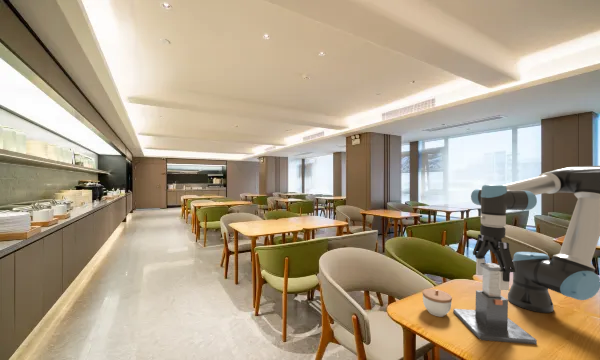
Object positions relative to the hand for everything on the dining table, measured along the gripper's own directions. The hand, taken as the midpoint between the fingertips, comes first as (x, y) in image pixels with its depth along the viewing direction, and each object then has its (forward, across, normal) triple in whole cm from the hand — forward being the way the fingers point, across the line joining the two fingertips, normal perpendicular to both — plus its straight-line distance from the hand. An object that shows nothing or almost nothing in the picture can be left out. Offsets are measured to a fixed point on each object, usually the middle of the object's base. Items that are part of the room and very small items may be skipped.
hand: (491, 281), depth 94 cm
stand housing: (+17, 0, 0) cm, 17 cm away
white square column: (+15, 0, 0) cm, 15 cm away
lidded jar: (+17, -8, -16) cm, 25 cm away
